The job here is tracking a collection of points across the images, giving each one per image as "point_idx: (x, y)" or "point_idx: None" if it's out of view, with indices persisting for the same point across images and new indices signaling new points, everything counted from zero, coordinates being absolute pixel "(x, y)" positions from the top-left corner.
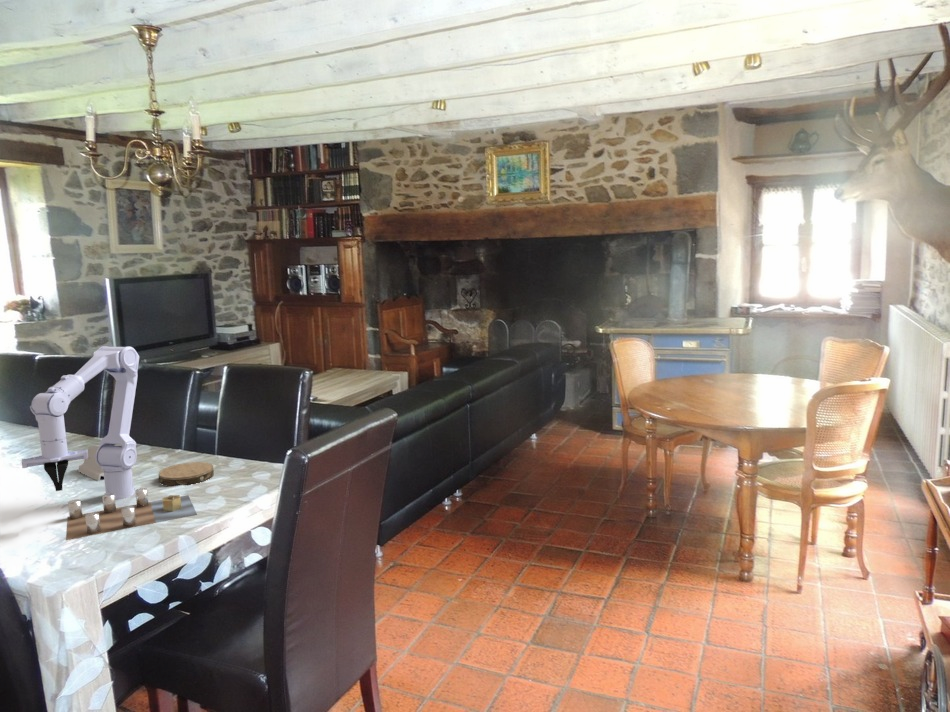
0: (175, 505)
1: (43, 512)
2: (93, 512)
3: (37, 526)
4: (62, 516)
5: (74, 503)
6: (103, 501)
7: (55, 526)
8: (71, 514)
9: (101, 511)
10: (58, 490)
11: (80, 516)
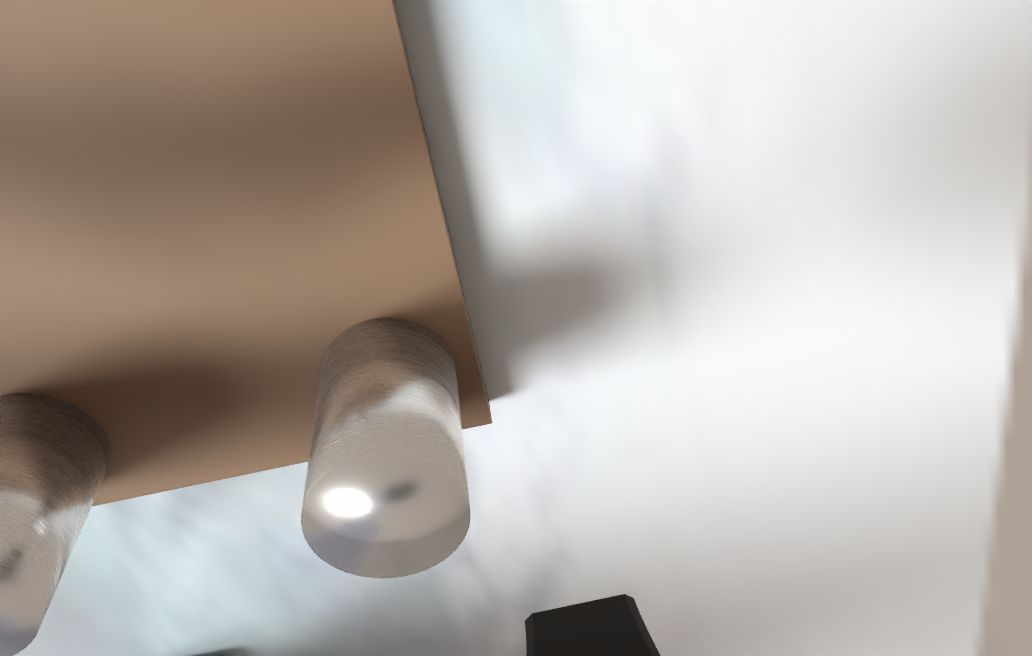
0: None
1: (733, 610)
2: (239, 465)
3: (759, 311)
4: (561, 494)
5: (363, 456)
6: (25, 520)
7: (579, 249)
8: (419, 361)
9: (153, 470)
10: (589, 604)
11: (329, 356)
